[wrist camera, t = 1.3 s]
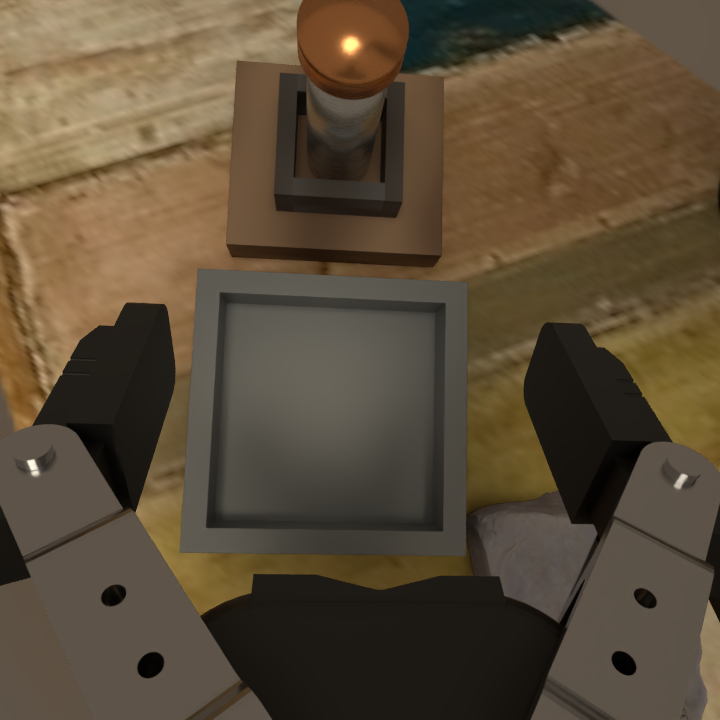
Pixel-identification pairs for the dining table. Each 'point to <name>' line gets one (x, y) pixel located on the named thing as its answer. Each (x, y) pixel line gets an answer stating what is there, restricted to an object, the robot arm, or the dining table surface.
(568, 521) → the stone block
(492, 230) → the dining table surface
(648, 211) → the dining table surface
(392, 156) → the bracket
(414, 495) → the tray
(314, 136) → the pin
